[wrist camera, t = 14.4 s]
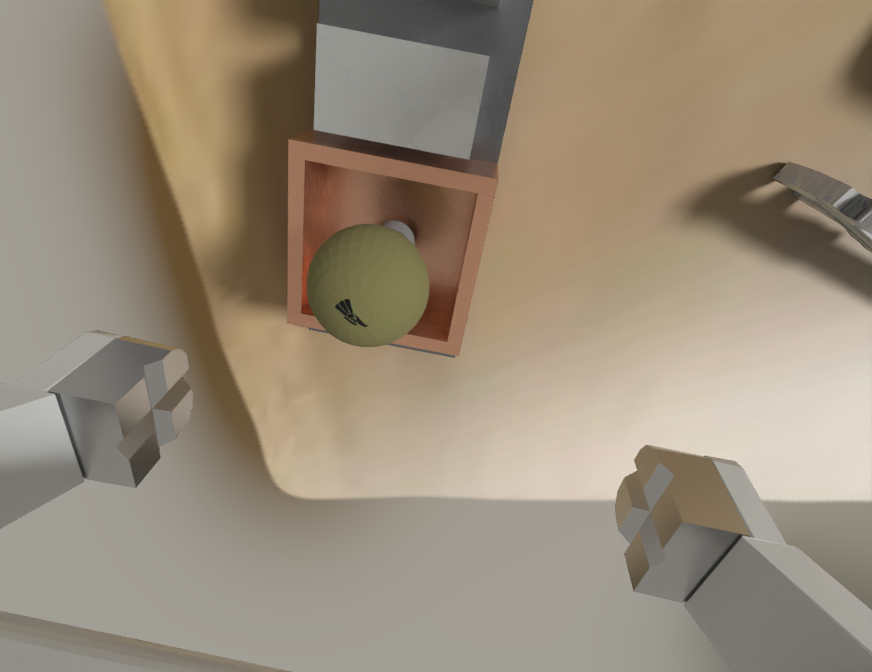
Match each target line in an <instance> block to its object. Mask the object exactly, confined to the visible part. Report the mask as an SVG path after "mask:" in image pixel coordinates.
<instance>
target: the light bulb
mask: <svg viewBox="0 0 872 672" xmlns="http://www.w3.org/2000/svg"><path fill="white" fill-rule="evenodd" d="M429 284H430V282H429V275H428V271H427V268H426V264H425V262H424V260H423V258H422V256H421V254H420V252H419V251H418V249H417V248H416V247H415V238H414V235H413V233H412V231H411V229H410V228H409V227H408V226H407V225H405V224H404V223H402V222H400V221H396V220H390V221H386V222H383V223H382V224H380V225H376V224H359V225H355V226H350V227H347V228H345V229H342V230H340V231H338V232H336V233H335V234H333V235H332V236H331V237H329V238H328V239H327V240H326V241H325V242H324V243H323V244H322V245H321V246H320V247H319V248H318V250H317V251H316V253H315V255H314V257H313V259H312V261H311V263H310V265H309V269H308V273H307V282H306V290H307V297H308V302H309V305H310V307H311V310H312V312H313V314H314V315H315V317H316V318H317V320H318V322H319V323H320V324H321V326H322V327H323V328H324V329H325V330H326V331H327V332H328V333H330V334H331V335H332V336H334V337H335V338H337V339H339V340H341V341H342V342H345V343H348V344H350V345H354V346H360V347H376V346H383V345H386V344H389V343H392V342H394V341H396V340H398V339H399V338H401V337H403V336H404V335H406V334H407V333H408V332H409V331H410V330H411V329H412V328H413V327H414V326H415V325H416V324H417V322H418V321H419V319H420V318H421V316H422V314H423V312H424V311H425V308H426V305H427V301H428V297H429Z"/></svg>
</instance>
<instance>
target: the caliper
mask: <svg viewBox="0 0 872 672" xmlns="http://www.w3.org/2000/svg"><path fill="white" fill-rule="evenodd" d="M773 178H774V180H776V181H777V182H779V183H781V184H783V185H785V186H787V187H789V188H791V189H792V190H794V191H795V192H794V193H793V195H794V196H795V197H797V198H798V199H799V200H801V201H802V202H804V203H806V204H807V205H809V206H811V207H813V208H814V209H816V210H818V211H819V212H821V213H823V214H824V215H826V216H828V217H829V218H831V219H833V220H834V221H836V222H838V223H839V224H841V225H842V226H843V227H844V228H845V229H846V230H847V231H848V233H849V234H850V235H851V236H852V237H853V238H855V239H856V240H857V241H858V242H860V243H861V244H862V246H863V247H864V248H866V249H867V250H869V251H870V252H872V199H870V198H868V197H865V196H863V195H861V194H859V193H858V192H857V191H856V190H855V189H854V188H853V187H851V186H849V185H847V184H844V183H842V182H840V181H838V180H836V179H834V178H831V177H829V176H827V175H825V174H823V173H821V172H818V171H815V170H812V169H809V168H807V167H804V166H801V165H798V164H795V163H792V162H788V163H787V164H786V165H785V166H784V167H783V168H782V169H781V170H780V171H779V172H778V173H777V174H776V175H775V176H774V177H773Z"/></svg>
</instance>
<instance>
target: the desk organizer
mask: <svg viewBox="0 0 872 672" xmlns="http://www.w3.org/2000/svg"><path fill="white" fill-rule="evenodd" d="M532 4H533V0H320V3H319V24H318V23H317V39H316V71H315V102H314V129H313V130H310V131H308V132H305V133H303V134H300V135H298V136H295V137H293V138H290V139H288V282H287V323H289V324H294V325H299V326H305V327H309V330H314V331H319V332H324V333H328V332H327V331H326V330H325V329H324V328H323V327H322V326H321V324H320V323H319V322H318V320H317V318H316V317H315V315H314V314H313V312H312V310H311V307H310V305H309V302H308V297H307V290H306V282H307V273H308V269H309V265H310V263H311V261H312V259H313V257H314V255H315V253H316V251H317V250H318V248H319V247H320V246H321V245H322V244H323V243H324V242H325V241H326V240H327V239H328V238H329V237H331V236H332V235H333V234H335V233H336V232H338V231H340V230H342V229H345V228H347V227H350V226H355V225H359V224H376V225H380V224H382V223H383V222H386V221H390V220H396V221H400V222H402V223H404V224H405V225H407V226H408V227H409V228H410V229H411V231H412V233H413V235H414V238H415V247H416V248H417V249H418V251H419V252H420V254H421V256H422V258H423V260H424V262H425V264H426V268H427V271H428V275H429V282H430V284H429V297H428V301H427V305H426V308H425V311H424V312H423V314H422V316H421V318H420V319H419V321H418V322H417V324H416V325H415V326H414V327H413V328H412V329H411V330H410V331H409V332H408V333H407V334H406V335H404V336H403V337H401V338H399V339H398V340H396V341H394V342H392V343H389V344H386V345H391V346H397V347H402V348H407V349H412V350H417V351H422V352H428V353H433V354H438V355H443V356H448V357H453V358H455V356H459V352H460V348H461V344H462V339H463V335H464V330H465V326H466V321H467V317H468V312H469V308H470V304H471V299H472V295H473V290H474V286H475V281H476V277H477V272H478V268H479V264H480V259H481V255H482V250H483V246H484V241H485V237H486V232H487V228H488V224H489V219H490V215H491V210H492V206H493V201H494V197H495V192H496V188H497V184H498V164H497V163H498V159H499V154H500V150H501V145H502V141H503V136H504V132H505V127H506V122H507V118H508V113H509V109H510V104H511V100H512V95H513V91H514V86H515V82H516V77H517V73H518V68H519V63H520V59H521V54H522V50H523V45H524V41H525V36H526V32H527V27H528V23H529V18H530V14H531V9H532ZM329 334H330V333H329Z"/></svg>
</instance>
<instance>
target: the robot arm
mask: <svg viewBox="0 0 872 672" xmlns="http://www.w3.org/2000/svg"><path fill="white" fill-rule="evenodd" d="M188 369H189V366H188V361H187V355H186V353H185V352H184V351H182V350H181V349H179V348H175V347H170V346H166V345H162V344H157V343H153V342H149V341H144V340H140V339H136V338H131V337H127V336H120V335H116V334H111V333H107V332H103V331H98V330H97V331H90V332H86V333H85V334H84V335H82V336H80V337H79V338H78V339H76V340H75V341H73V342H72V343H71V344H69V345H68V346H66V347H65V348H63V349H62V350H61V351H59V352H58V353H56V354H55V355H53V356H52V357H51V358H49V359H48V360H46V361H45V362H44V363H42V364H41V365H39V366H38V367H36V368H35V369H34V370H32V371H31V372H29V373H28V374H27V375H25V376H24V377H22V378H21V379H20V380H18V381H17V382H15V383H14V384H12V385H9V384H4V383H0V529H1V528H3V527H4V526H6V525H8V524H10V523H11V522H13V521H15V520H17V519H18V518H20V517H22V516H24V515H26V514H27V513H29V512H31V511H33V510H35V509H36V508H38V507H40V506H42V505H44V504H45V503H47V502H49V501H50V500H52V499H54V498H56V497H58V496H59V495H61V494H63V493H65V492H67V491H69V490H70V489H72V488H74V487H76V486H77V485H79V484H81V483H83V482H84V479H88V480H94V481H100V482H106V483H111V484H116V485H122V486H127V487H133V488H136V487H137V486H138V485H139V484H140V482H141V481H142V480H143V479H144V477H145V476H146V475H147V474H148V473H149V471H150V470H151V469H152V468H153V467H154V465H155V464H156V463H157V462H158V460H159V459H160V448H159V447H160V446H162V445H164V444H166V443H168V442H170V441H173V440H175V439H176V438H177V437H178V436H179V434H180V433H181V432H182V430H183V429H184V428H185V426H186V424H187V421H188V419H189V416H190V414H191V411H192V404H193V395H192V388H191V387H190V386H189V385H188V383H187V382H186V381H185V380H184V379H183V377H182V376H183V375H184V374H185V373H186V371H187V370H188ZM634 461H635V465H636V468H637V471H636V472H634V473H632V474H630V475H628V476H626V477H624V479H623V481H622V483H621V485H620V487H619V489H618V492H617V498H616V504H615V512H616V520H617V525H618V530H619V531H620V533H621V534H622V535H623V536H624V537H625V538H626V540H627V541H628V542H629V543H630V545H629V547H628V548H627V550H626V552H625V553H624V555H625V559H626V563H627V567H628V571H629V575H630V579H631V582H632V587H633V591H635V592H639V593H643V594H648V595H652V596H656V597H660V598H665V599H669V600H673V601H677V602H682V603H686V604H685V605H684V606H685V608H686V609H687V610H688V612H689V613H690V614H691V615H692V617H693V619H694V620H695V621H696V623H697V624H698V625H699V627H700V628H701V629H702V631H703V632H704V633H705V635H706V636H707V637H708V639H709V640H710V642H711V643H712V644H713V646H714V647H715V648H716V650H717V651H718V652H719V654H720V655H721V656H722V658H723V659H724V661H725V662H726V663H727V665H728V666H729V667H730V669H731V670H732V671H733V672H872V610H870V609H869V608H868V607H867V606H866V605H864V604H863V603H862V602H861V601H860V600H859V599H857V598H856V597H855V596H854V595H852V594H851V593H850V592H849V591H848V590H847V589H846V588H844V587H843V586H842V585H841V584H840V583H838V582H837V581H836V580H835V579H834V578H833V577H831V576H830V575H829V574H828V573H826V572H825V571H824V570H823V569H822V568H821V567H820V566H818V565H817V564H816V563H815V562H814V561H812V560H811V559H810V558H809V557H808V556H807V555H805V554H804V553H803V552H802V551H801V550H799V549H798V548H797V547H794V546H790V545H786V543H785V541H784V539H783V538H782V536H781V534H780V533H779V531H778V529H777V527H776V526H775V524H774V522H773V520H772V518H771V517H770V515H769V514H768V511H767V510H766V508H765V506H764V504H763V503H762V501H761V499H760V497H759V496H758V494H757V492H756V490H755V489H754V487H753V485H752V483H751V482H750V480H749V478H748V476H747V475H746V473H745V471H744V469H743V468H742V467H741V466H740V465H739V464H738V463H736V462H735V461H731V460H726V459H720V458H715V457H709V456H700V455H696V454H691V453H686V452H681V451H676V450H671V449H666V448H661V447H656V446H650V445H646V446H644V447H643V448H642V449H641V450H640V451H639V453H638V454H637V456H636V458H635V459H634ZM0 672H291V671H286V670H281V669H276V668H272V667H267V666H262V665H257V664H253V663H248V662H243V661H238V660H233V659H229V658H224V657H219V656H214V655H210V654H205V653H200V652H195V651H190V650H185V649H181V648H176V647H171V646H166V645H161V644H157V643H152V642H147V641H142V640H138V639H133V638H128V637H123V636H119V635H113V634H109V633H104V632H99V631H94V630H90V629H85V628H80V627H75V626H71V625H66V624H61V623H56V622H51V621H46V620H42V619H37V618H32V617H28V616H23V615H17V614H13V613H8V612H4V611H0Z"/></svg>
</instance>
